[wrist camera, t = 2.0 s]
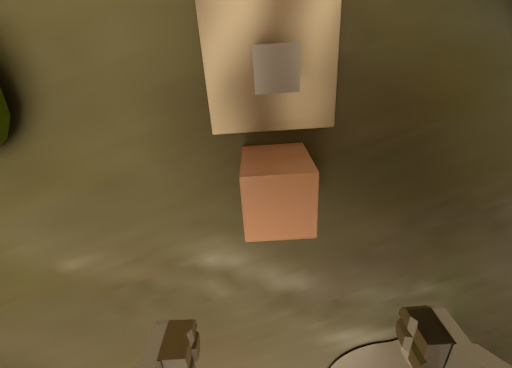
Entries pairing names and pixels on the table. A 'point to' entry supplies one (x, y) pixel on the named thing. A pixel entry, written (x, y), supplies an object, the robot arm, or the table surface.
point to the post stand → (269, 63)
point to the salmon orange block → (278, 192)
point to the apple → (3, 119)
